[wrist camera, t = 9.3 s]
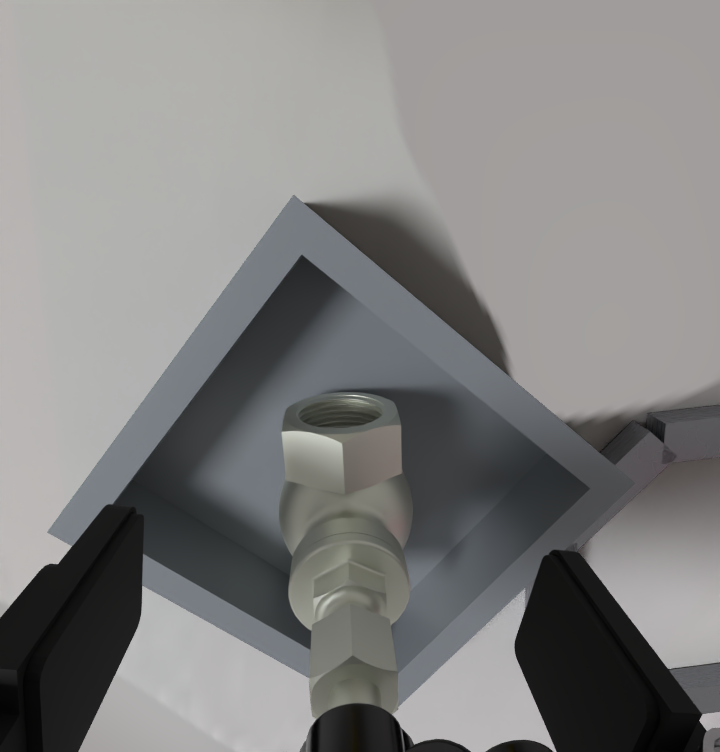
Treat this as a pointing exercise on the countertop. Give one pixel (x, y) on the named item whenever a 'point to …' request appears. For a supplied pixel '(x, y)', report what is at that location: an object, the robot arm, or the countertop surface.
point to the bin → (267, 468)
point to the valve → (351, 568)
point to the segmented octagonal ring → (642, 464)
